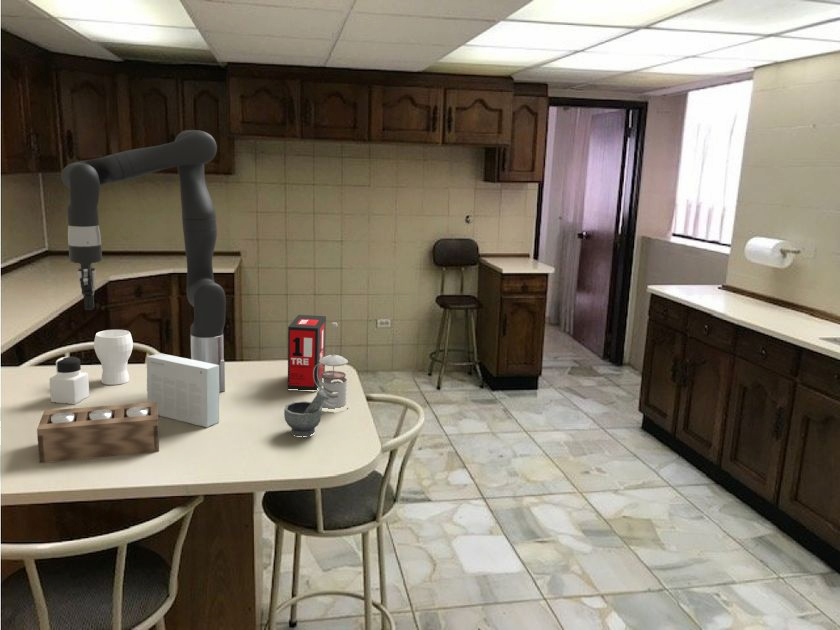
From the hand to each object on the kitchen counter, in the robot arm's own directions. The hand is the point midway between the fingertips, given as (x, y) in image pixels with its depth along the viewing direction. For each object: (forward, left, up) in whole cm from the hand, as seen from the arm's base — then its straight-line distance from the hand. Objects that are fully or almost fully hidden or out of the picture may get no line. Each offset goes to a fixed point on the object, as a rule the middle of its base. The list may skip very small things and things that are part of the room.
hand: (89, 309), depth 178 cm
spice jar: (-3, +25, -25) cm, 35 cm away
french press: (-62, +11, -28) cm, 69 cm away
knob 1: (+5, +25, -25) cm, 35 cm away
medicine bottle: (+7, -11, -28) cm, 31 cm away
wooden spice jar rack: (-3, +25, -28) cm, 38 cm away
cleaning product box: (-60, -11, -28) cm, 67 cm away
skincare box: (-22, +10, -28) cm, 37 cm away
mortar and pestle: (-51, +29, -28) cm, 65 cm away
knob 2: (-11, +25, -25) cm, 37 cm away
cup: (-4, -25, -28) cm, 38 cm away
